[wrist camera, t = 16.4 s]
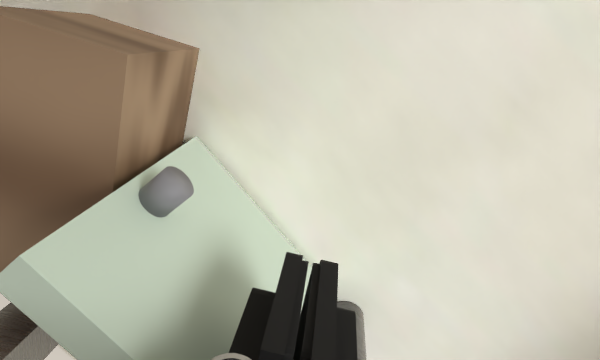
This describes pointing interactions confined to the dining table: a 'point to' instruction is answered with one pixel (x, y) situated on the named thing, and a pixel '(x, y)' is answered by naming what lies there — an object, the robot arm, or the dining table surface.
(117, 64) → the block
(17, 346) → the door frame
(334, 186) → the dining table surface
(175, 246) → the door
